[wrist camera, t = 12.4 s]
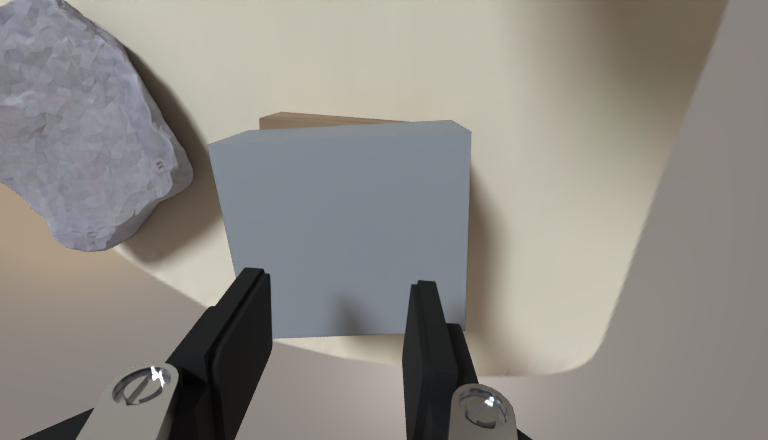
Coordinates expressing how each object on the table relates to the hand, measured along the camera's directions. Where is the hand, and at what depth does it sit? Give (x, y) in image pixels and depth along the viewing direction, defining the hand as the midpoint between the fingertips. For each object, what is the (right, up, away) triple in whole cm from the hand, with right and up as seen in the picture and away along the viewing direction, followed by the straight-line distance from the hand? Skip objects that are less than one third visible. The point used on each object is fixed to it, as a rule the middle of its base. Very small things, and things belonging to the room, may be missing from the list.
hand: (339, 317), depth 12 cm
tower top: (0, +4, +8) cm, 9 cm away
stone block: (-11, +11, +9) cm, 18 cm away
